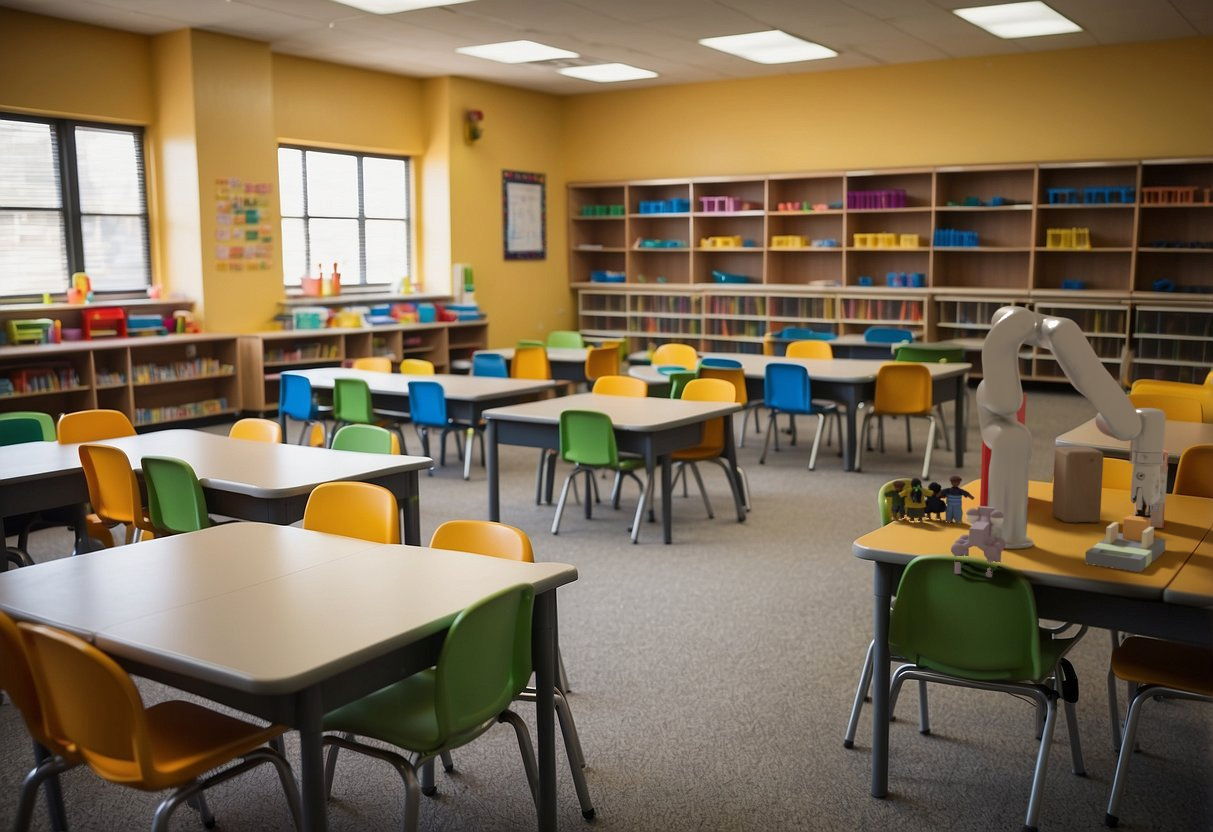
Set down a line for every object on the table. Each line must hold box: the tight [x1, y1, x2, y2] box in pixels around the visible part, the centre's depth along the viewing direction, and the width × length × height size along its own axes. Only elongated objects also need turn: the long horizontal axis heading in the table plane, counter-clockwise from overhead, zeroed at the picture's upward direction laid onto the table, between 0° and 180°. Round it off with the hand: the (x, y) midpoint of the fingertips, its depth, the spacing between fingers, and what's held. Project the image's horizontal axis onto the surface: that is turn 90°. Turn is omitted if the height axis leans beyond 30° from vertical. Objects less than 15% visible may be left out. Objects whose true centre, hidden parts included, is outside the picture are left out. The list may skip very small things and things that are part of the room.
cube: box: [1122, 514, 1151, 541], centre depth 267 cm, size 5×5×5 cm
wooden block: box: [1051, 445, 1104, 523], centre depth 299 cm, size 10×10×20 cm
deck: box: [1084, 521, 1167, 573], centre depth 260 cm, size 24×12×7 cm, turn 141°
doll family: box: [883, 475, 975, 524], centre depth 300 cm, size 23×9×13 cm, turn 91°
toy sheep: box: [950, 505, 1006, 578], centre depth 254 cm, size 20×11×14 cm, turn 151°
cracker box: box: [1133, 448, 1170, 530], centre depth 294 cm, size 14×6×21 cm, turn 161°
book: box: [979, 392, 1027, 507], centre depth 321 cm, size 27×8×32 cm, turn 151°
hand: (1142, 529), depth 271 cm, fingers closed
